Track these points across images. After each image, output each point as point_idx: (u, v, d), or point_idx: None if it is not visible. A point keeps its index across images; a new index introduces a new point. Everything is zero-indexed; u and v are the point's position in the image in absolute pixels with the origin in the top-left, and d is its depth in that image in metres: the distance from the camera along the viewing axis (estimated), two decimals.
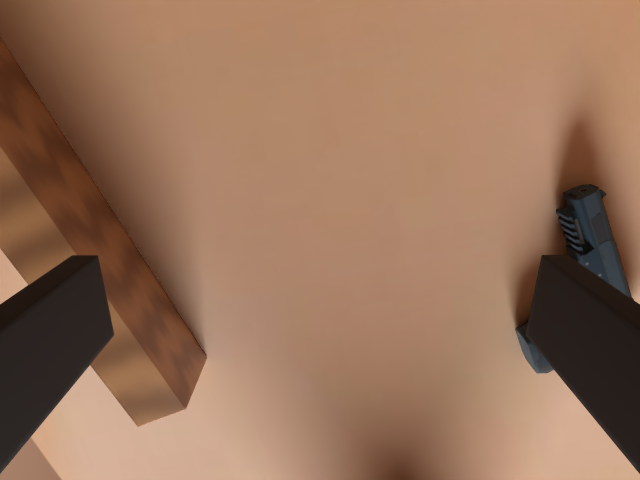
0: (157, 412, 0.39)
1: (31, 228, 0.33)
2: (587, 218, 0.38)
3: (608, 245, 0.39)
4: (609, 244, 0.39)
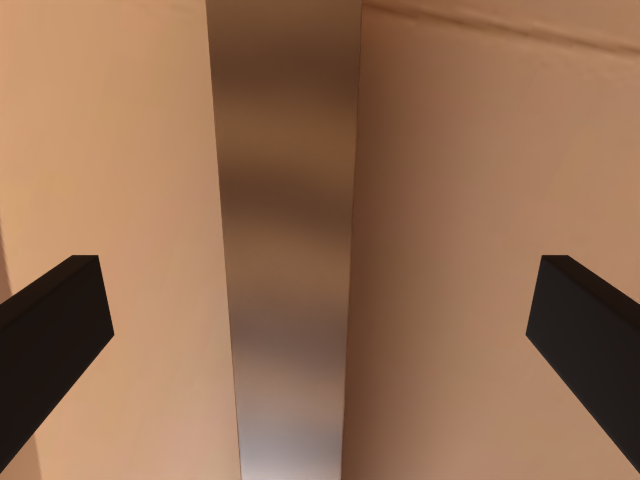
0: None
1: None
2: None
3: None
4: None
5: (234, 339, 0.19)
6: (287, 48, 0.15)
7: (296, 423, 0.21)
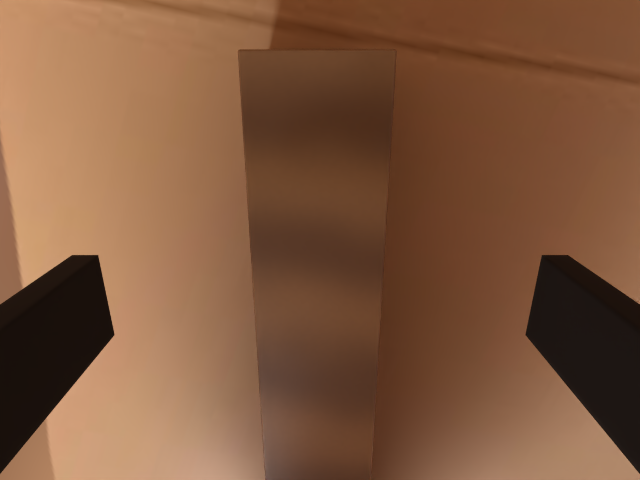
0: None
1: None
2: None
3: None
4: None
5: (263, 383, 0.19)
6: (320, 101, 0.14)
7: (324, 463, 0.21)
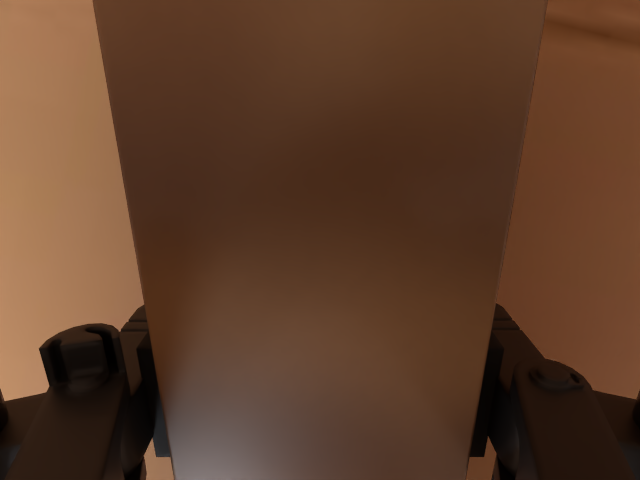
0: None
1: None
2: None
3: None
4: None
5: None
6: (327, 129, 0.05)
7: None
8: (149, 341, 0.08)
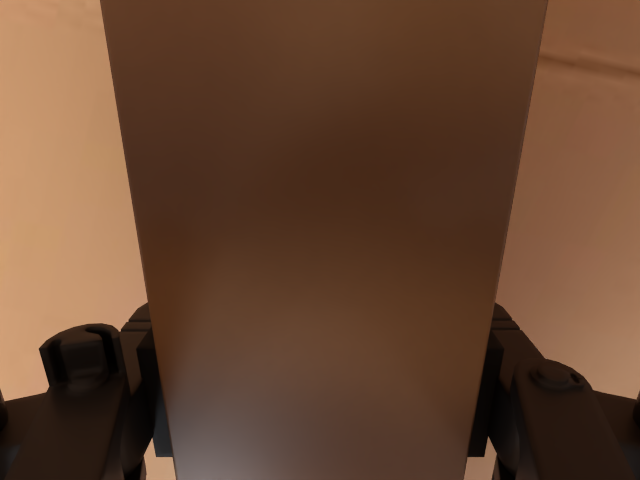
0: None
1: None
2: None
3: None
4: None
5: None
6: (330, 128, 0.05)
7: None
8: (149, 341, 0.08)
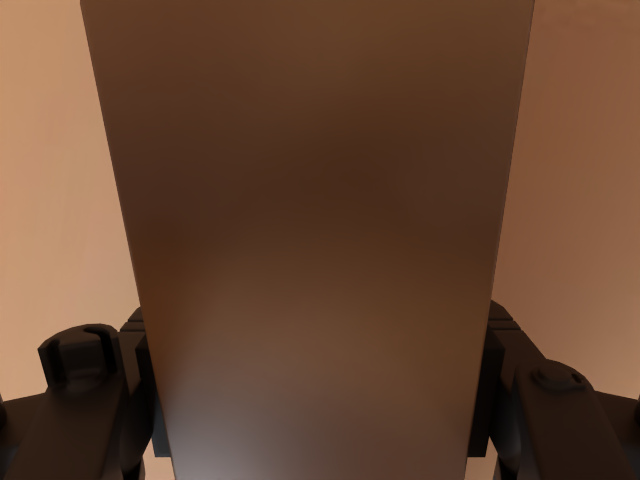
0: None
1: None
2: None
3: None
4: None
5: None
6: (318, 137, 0.05)
7: None
8: None
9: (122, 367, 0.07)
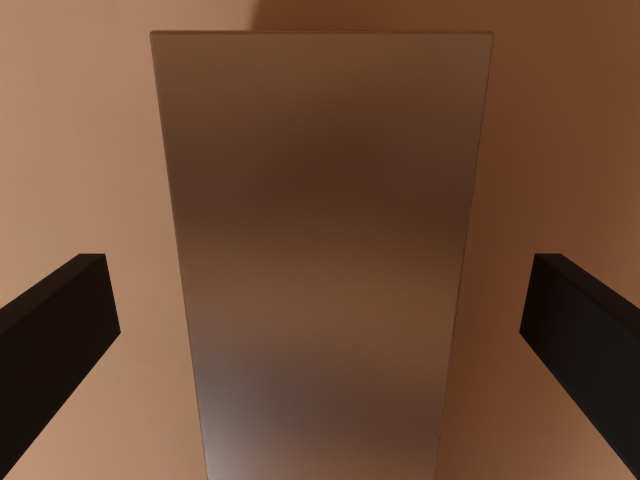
0: None
1: None
2: None
3: None
4: None
5: None
6: (327, 140, 0.07)
7: None
8: None
9: None
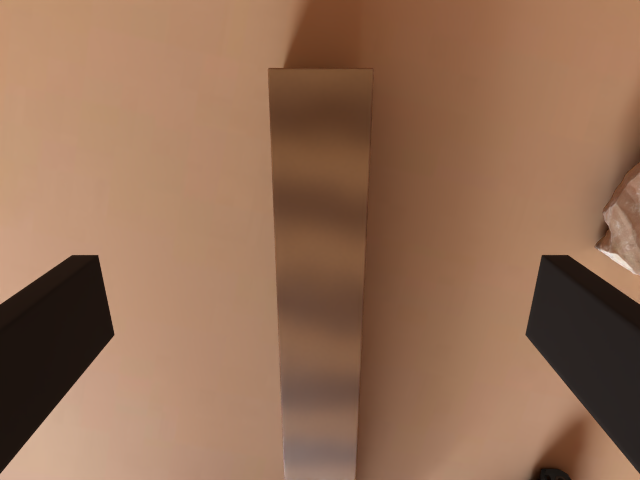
0: None
1: None
2: None
3: None
4: None
5: (280, 307, 0.26)
6: (322, 102, 0.22)
7: (324, 372, 0.28)
8: None
9: None
